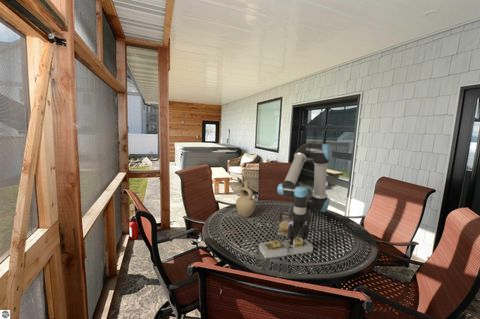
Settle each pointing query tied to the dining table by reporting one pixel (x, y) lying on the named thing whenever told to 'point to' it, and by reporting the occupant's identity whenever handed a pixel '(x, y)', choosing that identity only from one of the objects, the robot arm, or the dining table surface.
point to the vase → (245, 201)
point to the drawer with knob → (274, 244)
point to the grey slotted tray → (284, 249)
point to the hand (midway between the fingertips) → (296, 248)
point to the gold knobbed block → (298, 242)
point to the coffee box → (284, 222)
